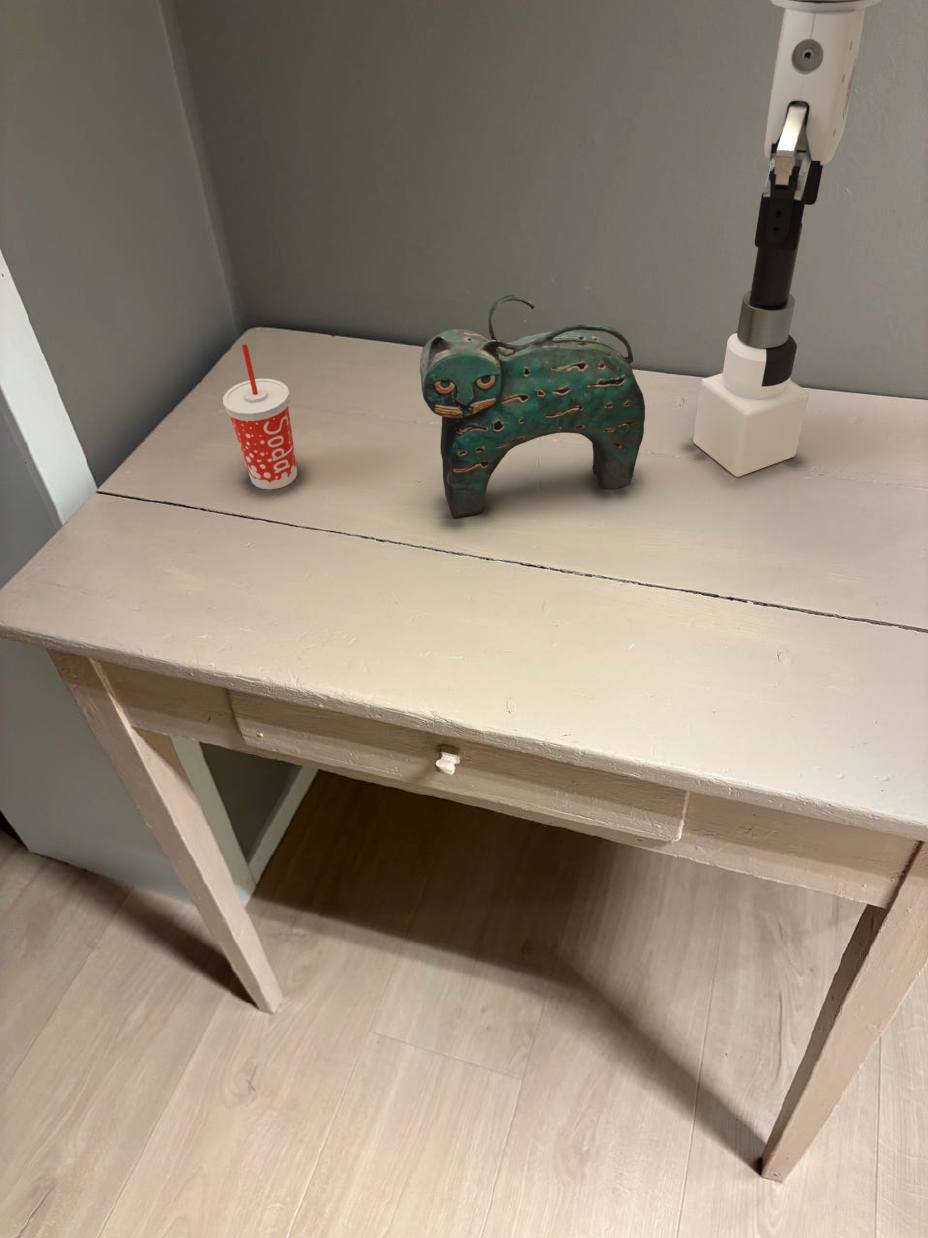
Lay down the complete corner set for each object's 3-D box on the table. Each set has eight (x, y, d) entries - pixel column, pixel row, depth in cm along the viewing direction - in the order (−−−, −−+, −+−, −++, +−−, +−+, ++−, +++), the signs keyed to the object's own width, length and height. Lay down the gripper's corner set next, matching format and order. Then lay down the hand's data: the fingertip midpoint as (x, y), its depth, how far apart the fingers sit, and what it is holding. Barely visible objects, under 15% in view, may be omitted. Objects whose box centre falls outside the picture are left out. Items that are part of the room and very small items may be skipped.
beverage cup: (252, 500, 92) (218, 369, 82) (236, 468, 96) (202, 339, 86) (313, 482, 93) (287, 352, 84) (294, 451, 97) (268, 323, 88)
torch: (791, 328, 86) (815, 210, 79) (783, 351, 83) (806, 231, 76) (742, 321, 87) (760, 205, 80) (732, 344, 85) (750, 225, 77)
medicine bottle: (749, 422, 97) (769, 310, 89) (796, 457, 92) (822, 342, 84) (691, 442, 95) (705, 330, 87) (736, 479, 90) (756, 364, 82)
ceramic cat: (436, 529, 87) (418, 324, 73) (424, 488, 92) (404, 288, 78) (645, 493, 89) (666, 288, 76) (623, 455, 94) (638, 255, 80)
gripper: (871, 5, 60) (817, 273, 71) (898, -49, 71) (848, 190, 83) (749, 2, 62) (716, 261, 74) (794, -50, 73) (759, 183, 85)
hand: (786, 224), depth 78 cm, fingers open, 9 cm apart
